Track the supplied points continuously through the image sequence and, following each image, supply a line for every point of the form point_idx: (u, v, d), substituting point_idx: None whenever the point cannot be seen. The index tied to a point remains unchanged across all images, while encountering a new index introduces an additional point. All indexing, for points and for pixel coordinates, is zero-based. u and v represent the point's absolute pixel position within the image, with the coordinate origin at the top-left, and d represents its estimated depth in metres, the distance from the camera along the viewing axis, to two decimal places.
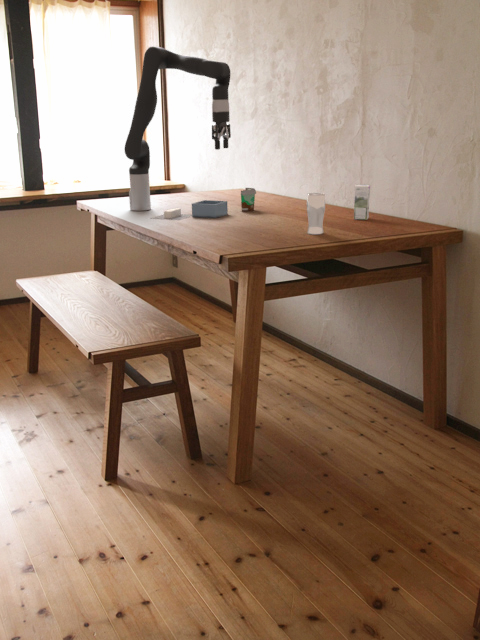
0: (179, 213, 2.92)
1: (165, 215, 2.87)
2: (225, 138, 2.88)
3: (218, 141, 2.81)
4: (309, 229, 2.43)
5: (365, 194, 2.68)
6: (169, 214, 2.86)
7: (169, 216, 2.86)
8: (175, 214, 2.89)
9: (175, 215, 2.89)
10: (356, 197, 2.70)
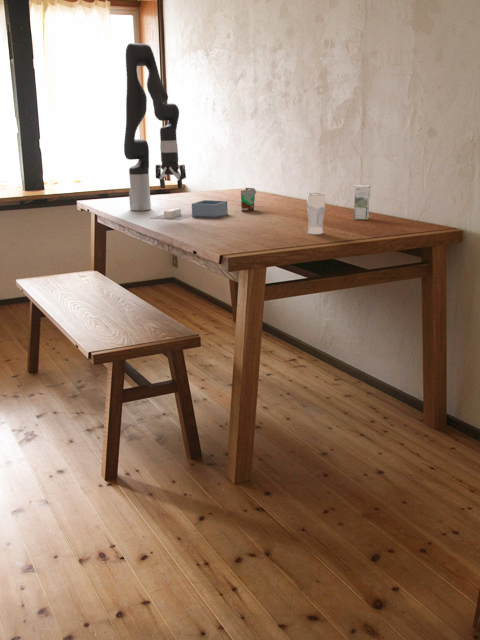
0: (179, 213, 2.92)
1: (165, 215, 2.87)
2: (162, 178, 2.87)
3: None
4: (309, 229, 2.43)
5: (365, 194, 2.68)
6: (169, 214, 2.86)
7: (169, 216, 2.86)
8: (175, 214, 2.89)
9: (175, 215, 2.89)
10: (356, 197, 2.70)
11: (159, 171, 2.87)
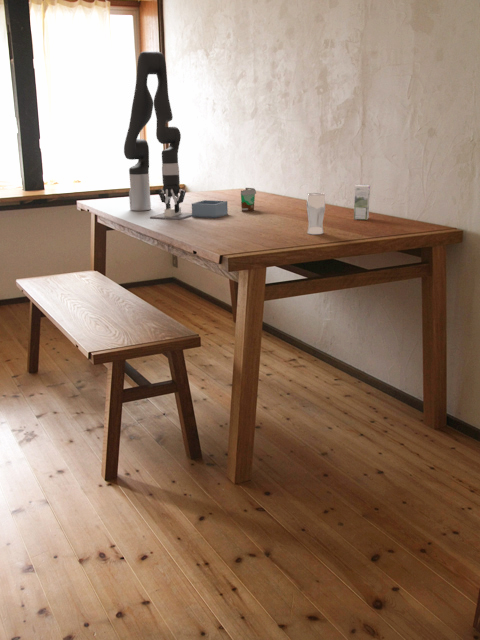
0: (179, 212, 2.92)
1: (165, 213, 2.86)
2: (168, 202, 2.89)
3: None
4: (309, 229, 2.43)
5: (365, 194, 2.68)
6: (169, 212, 2.85)
7: (169, 214, 2.86)
8: (175, 213, 2.89)
9: (175, 214, 2.89)
10: (356, 197, 2.70)
11: (163, 195, 2.89)
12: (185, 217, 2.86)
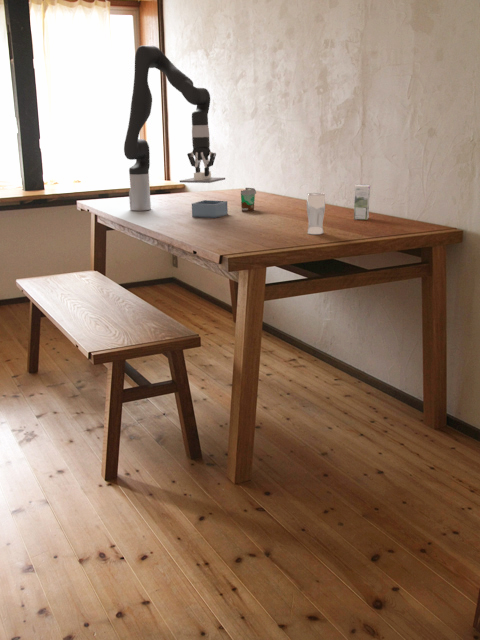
0: (209, 176, 2.87)
1: (195, 177, 2.82)
2: (198, 165, 2.84)
3: None
4: (309, 229, 2.43)
5: (365, 194, 2.68)
6: (199, 176, 2.81)
7: (199, 178, 2.81)
8: (205, 176, 2.84)
9: (205, 177, 2.84)
10: (356, 197, 2.70)
11: (192, 158, 2.85)
12: (215, 180, 2.81)
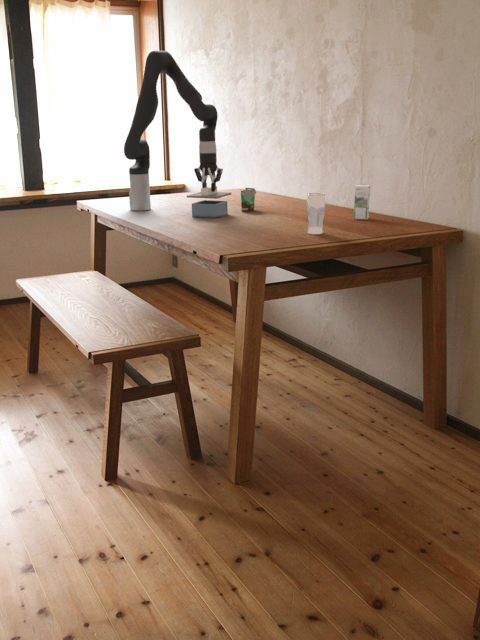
0: (215, 191, 2.90)
1: (202, 192, 2.84)
2: (205, 181, 2.87)
3: None
4: (309, 229, 2.43)
5: (365, 194, 2.68)
6: (206, 191, 2.83)
7: (206, 193, 2.84)
8: (212, 192, 2.87)
9: (212, 192, 2.87)
10: (356, 197, 2.70)
11: (199, 174, 2.88)
12: (222, 196, 2.84)
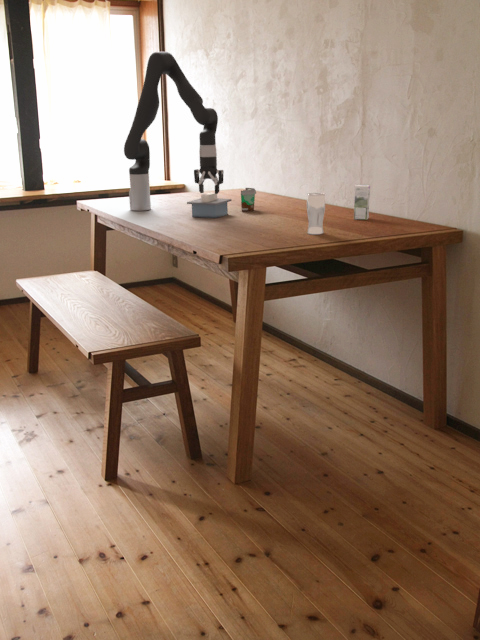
0: (215, 197, 2.91)
1: (202, 199, 2.85)
2: (201, 183, 2.88)
3: None
4: (309, 229, 2.43)
5: (365, 194, 2.68)
6: (206, 198, 2.84)
7: (206, 200, 2.85)
8: (212, 198, 2.88)
9: (212, 199, 2.88)
10: (356, 197, 2.70)
11: (198, 176, 2.88)
12: (222, 202, 2.85)
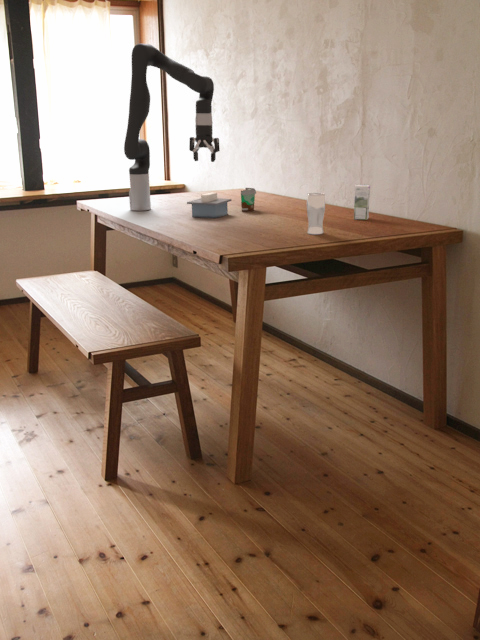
0: (215, 197, 2.91)
1: (202, 199, 2.85)
2: (196, 151, 2.91)
3: None
4: (309, 229, 2.43)
5: (365, 194, 2.68)
6: (206, 198, 2.84)
7: (206, 200, 2.85)
8: (212, 198, 2.88)
9: (212, 199, 2.88)
10: (356, 197, 2.70)
11: (193, 144, 2.90)
12: (222, 202, 2.85)
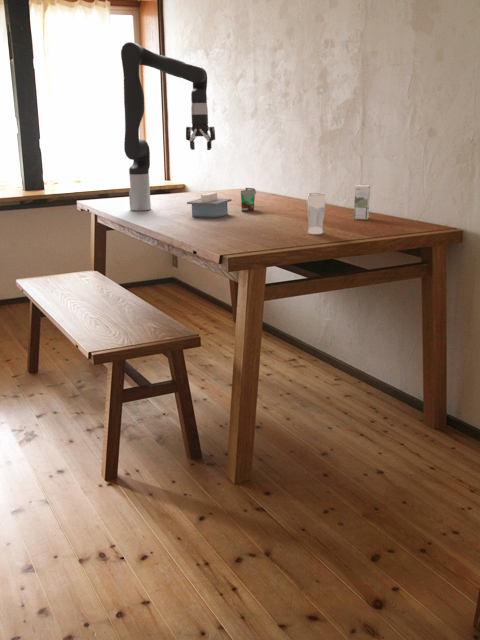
0: (215, 197, 2.91)
1: (202, 199, 2.85)
2: (192, 140, 2.99)
3: None
4: (309, 229, 2.43)
5: (365, 194, 2.68)
6: (206, 198, 2.84)
7: (206, 200, 2.85)
8: (212, 198, 2.88)
9: (212, 199, 2.88)
10: (356, 197, 2.70)
11: (189, 133, 2.99)
12: (222, 202, 2.85)
